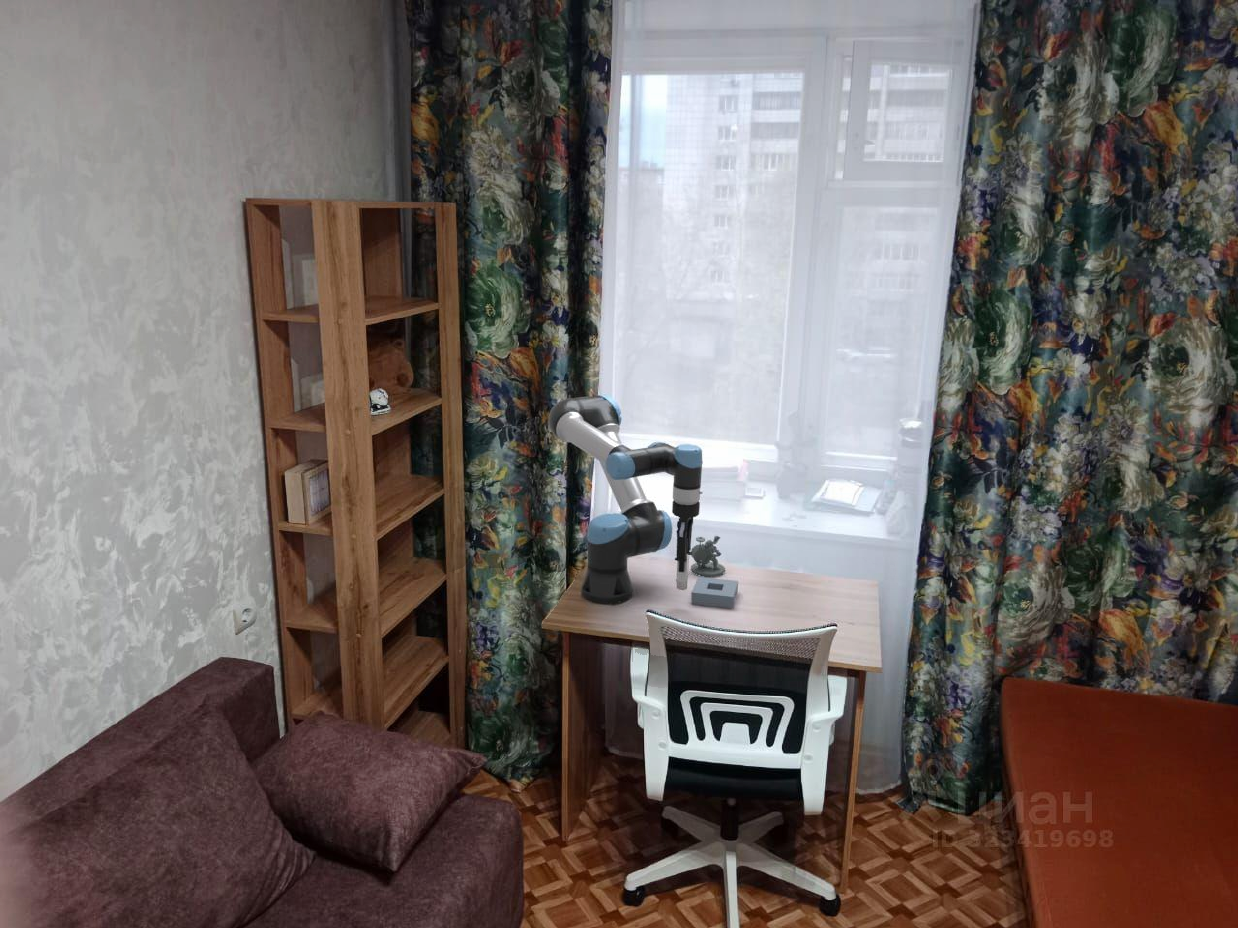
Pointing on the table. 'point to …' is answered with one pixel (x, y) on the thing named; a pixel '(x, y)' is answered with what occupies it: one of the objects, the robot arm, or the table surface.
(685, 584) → the peg
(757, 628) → the table surface
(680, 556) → the robot arm
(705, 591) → the hole block
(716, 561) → the figurine
